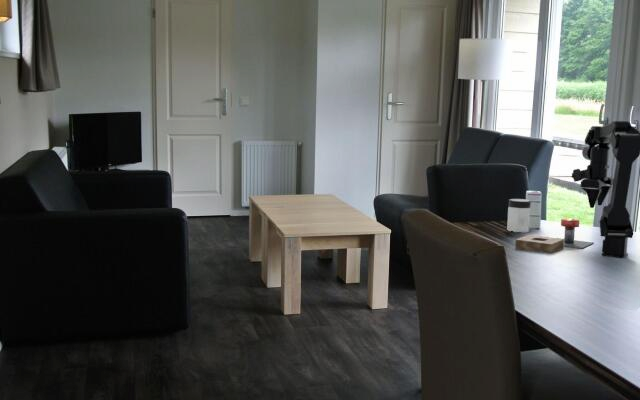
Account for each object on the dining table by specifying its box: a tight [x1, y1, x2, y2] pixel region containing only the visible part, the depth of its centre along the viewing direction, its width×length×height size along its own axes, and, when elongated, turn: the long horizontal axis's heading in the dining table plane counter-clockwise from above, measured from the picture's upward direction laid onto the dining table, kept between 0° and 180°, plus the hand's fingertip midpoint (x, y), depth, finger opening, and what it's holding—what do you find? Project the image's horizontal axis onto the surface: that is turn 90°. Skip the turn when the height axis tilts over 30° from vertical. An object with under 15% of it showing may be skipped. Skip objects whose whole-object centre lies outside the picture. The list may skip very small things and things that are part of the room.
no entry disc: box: [560, 218, 580, 244], centre depth 241 cm, size 6×6×8 cm
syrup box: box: [525, 190, 543, 229], centre depth 275 cm, size 6×6×14 cm
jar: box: [506, 198, 531, 233], centre depth 267 cm, size 9×8×12 cm
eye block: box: [514, 234, 564, 254], centre depth 233 cm, size 12×12×3 cm
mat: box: [557, 237, 594, 250], centre depth 242 cm, size 13×13×1 cm
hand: (595, 206), depth 243 cm, fingers open, 9 cm apart
